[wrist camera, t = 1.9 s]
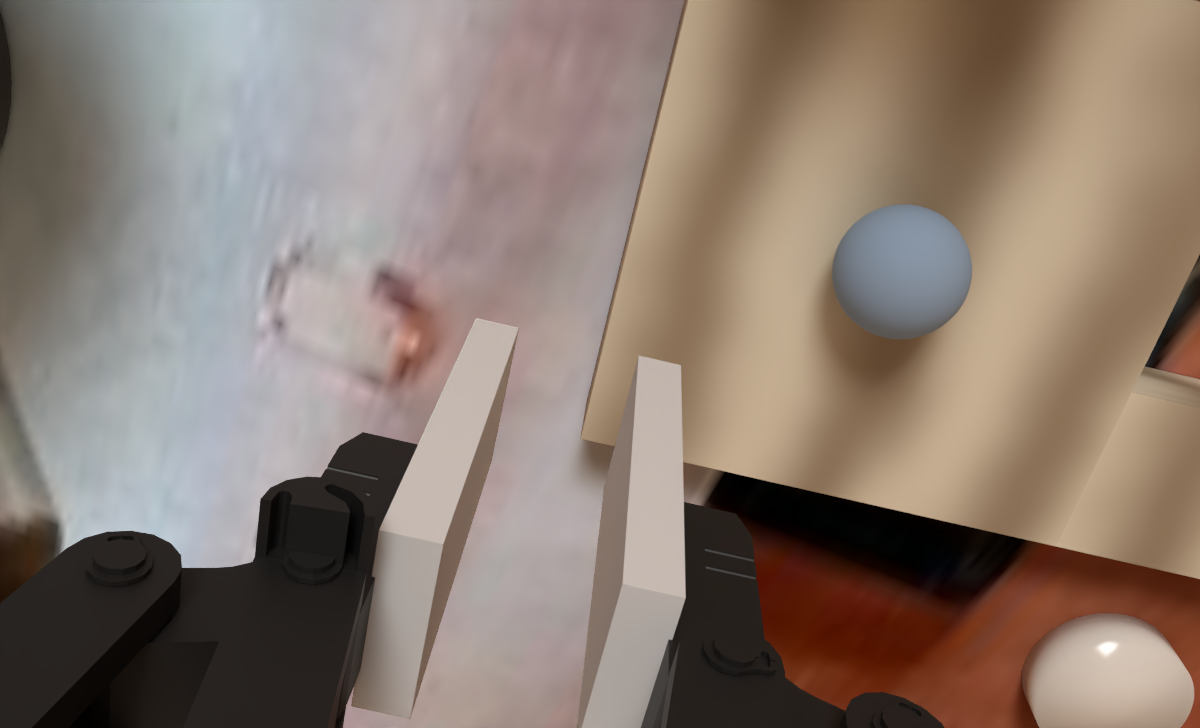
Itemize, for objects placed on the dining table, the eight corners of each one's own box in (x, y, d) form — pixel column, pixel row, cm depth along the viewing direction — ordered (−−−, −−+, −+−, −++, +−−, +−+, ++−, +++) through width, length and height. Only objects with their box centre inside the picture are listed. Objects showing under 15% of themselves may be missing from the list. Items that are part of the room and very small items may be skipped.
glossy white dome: (998, 708, 44) (1012, 743, 42) (1053, 596, 42) (1071, 629, 40) (1133, 736, 44) (1153, 773, 42) (1197, 627, 42) (1221, 661, 40)
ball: (807, 294, 34) (824, 343, 30) (846, 175, 32) (869, 212, 28) (927, 322, 34) (958, 374, 30) (972, 205, 32) (1011, 245, 28)
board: (586, 400, 39) (580, 438, 36) (713, -117, 31) (717, -118, 29) (1298, 562, 40) (1344, 611, 37) (1584, 98, 32) (1668, 117, 30)
